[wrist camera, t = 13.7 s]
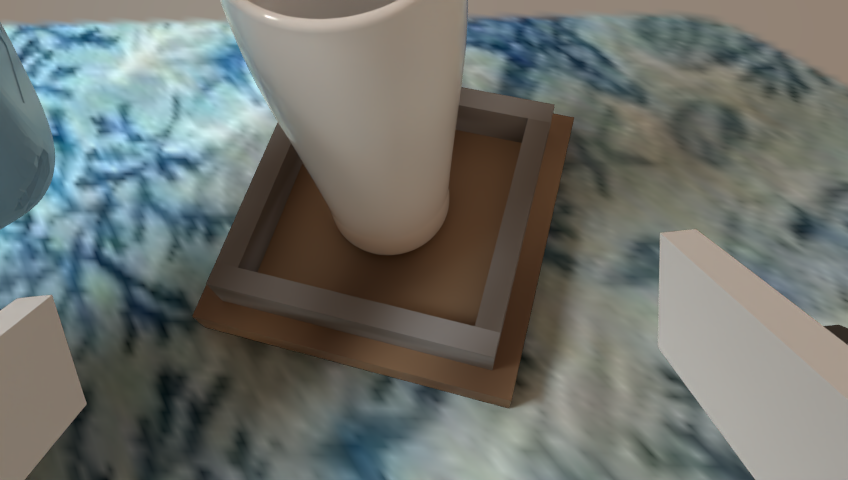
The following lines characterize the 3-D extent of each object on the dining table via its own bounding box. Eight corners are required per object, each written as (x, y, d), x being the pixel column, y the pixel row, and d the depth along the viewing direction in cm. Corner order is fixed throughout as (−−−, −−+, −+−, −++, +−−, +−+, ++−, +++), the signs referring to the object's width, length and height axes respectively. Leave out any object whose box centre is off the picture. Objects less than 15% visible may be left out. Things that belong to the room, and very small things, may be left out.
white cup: (341, 134, 32) (251, -172, 18) (478, 157, 31) (491, -149, 17) (299, 260, 29) (157, 8, 16) (448, 289, 28) (436, 48, 15)
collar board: (204, 327, 30) (173, 300, 26) (309, 84, 35) (294, 38, 32) (508, 408, 27) (514, 389, 24) (569, 135, 33) (580, 91, 30)
